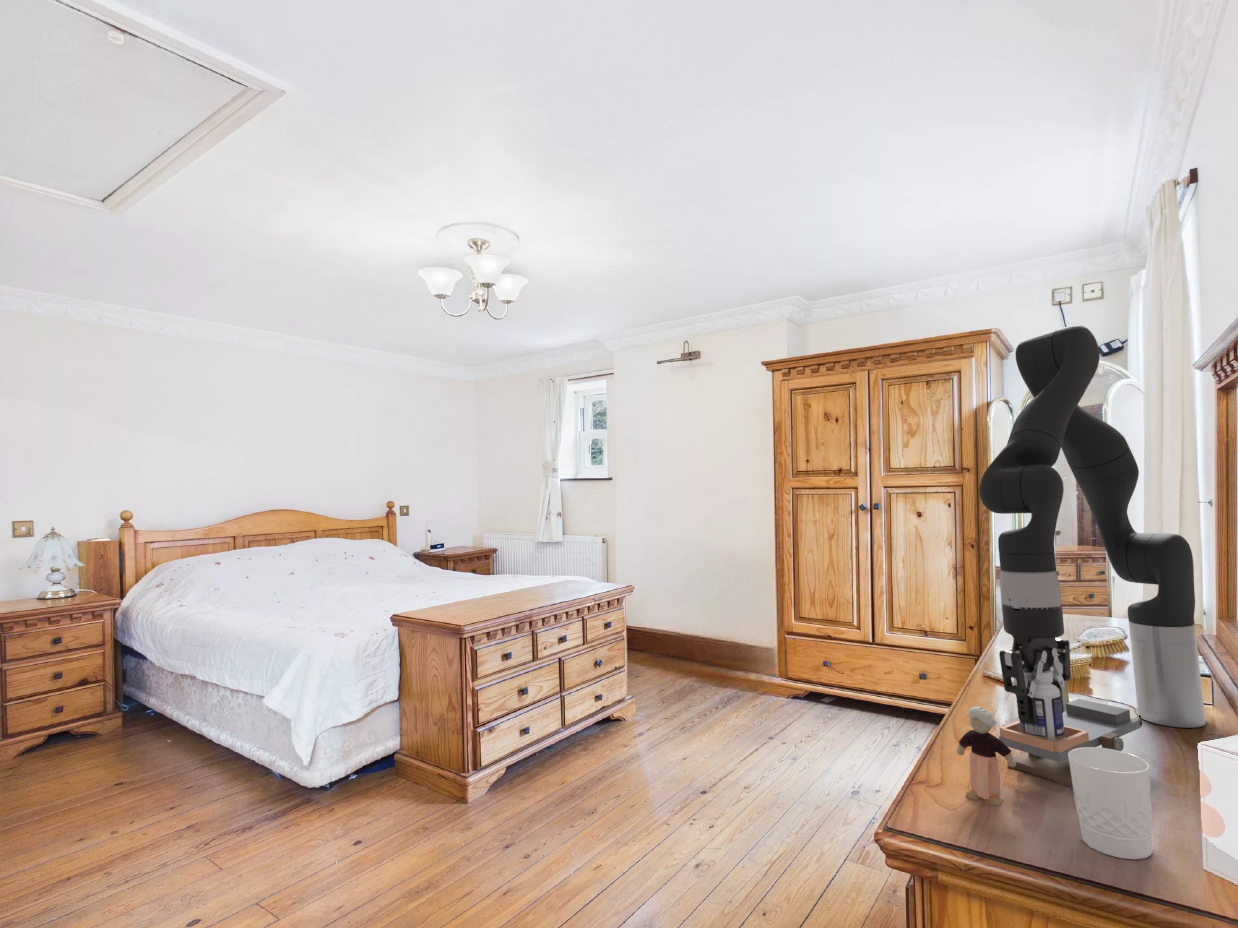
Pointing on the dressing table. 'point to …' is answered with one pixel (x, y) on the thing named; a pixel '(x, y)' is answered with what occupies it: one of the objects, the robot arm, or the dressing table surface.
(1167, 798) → the dressing table surface
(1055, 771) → the balance stand
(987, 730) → the grandmother figurine
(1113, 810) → the white cup
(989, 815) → the dressing table surface
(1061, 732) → the pill bottle
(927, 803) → the dressing table surface
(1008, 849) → the dressing table surface
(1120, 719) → the balance beam
